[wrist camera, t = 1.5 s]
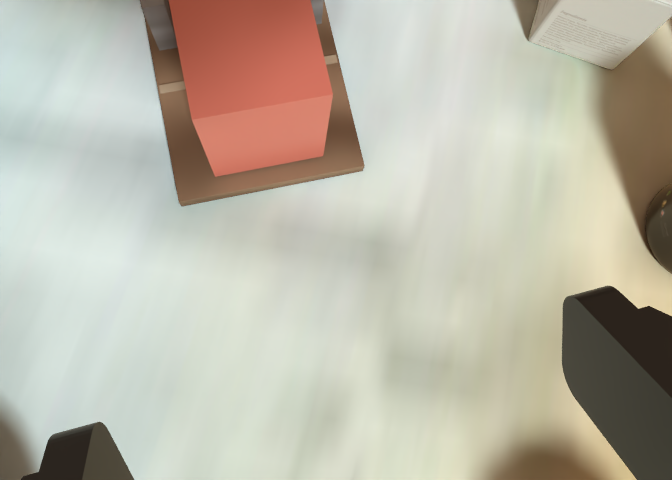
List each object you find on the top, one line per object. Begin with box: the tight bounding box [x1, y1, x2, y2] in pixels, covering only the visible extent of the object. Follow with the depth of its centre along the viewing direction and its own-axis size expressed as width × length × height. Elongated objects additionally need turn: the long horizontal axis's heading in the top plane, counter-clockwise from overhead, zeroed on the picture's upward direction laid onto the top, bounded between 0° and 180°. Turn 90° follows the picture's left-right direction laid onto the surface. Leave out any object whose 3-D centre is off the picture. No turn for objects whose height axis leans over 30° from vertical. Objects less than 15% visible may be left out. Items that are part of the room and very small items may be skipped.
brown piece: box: [140, 0, 364, 206], centre depth 35 cm, size 18×11×6 cm, turn 13°
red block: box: [169, 0, 333, 177], centre depth 32 cm, size 6×6×8 cm
